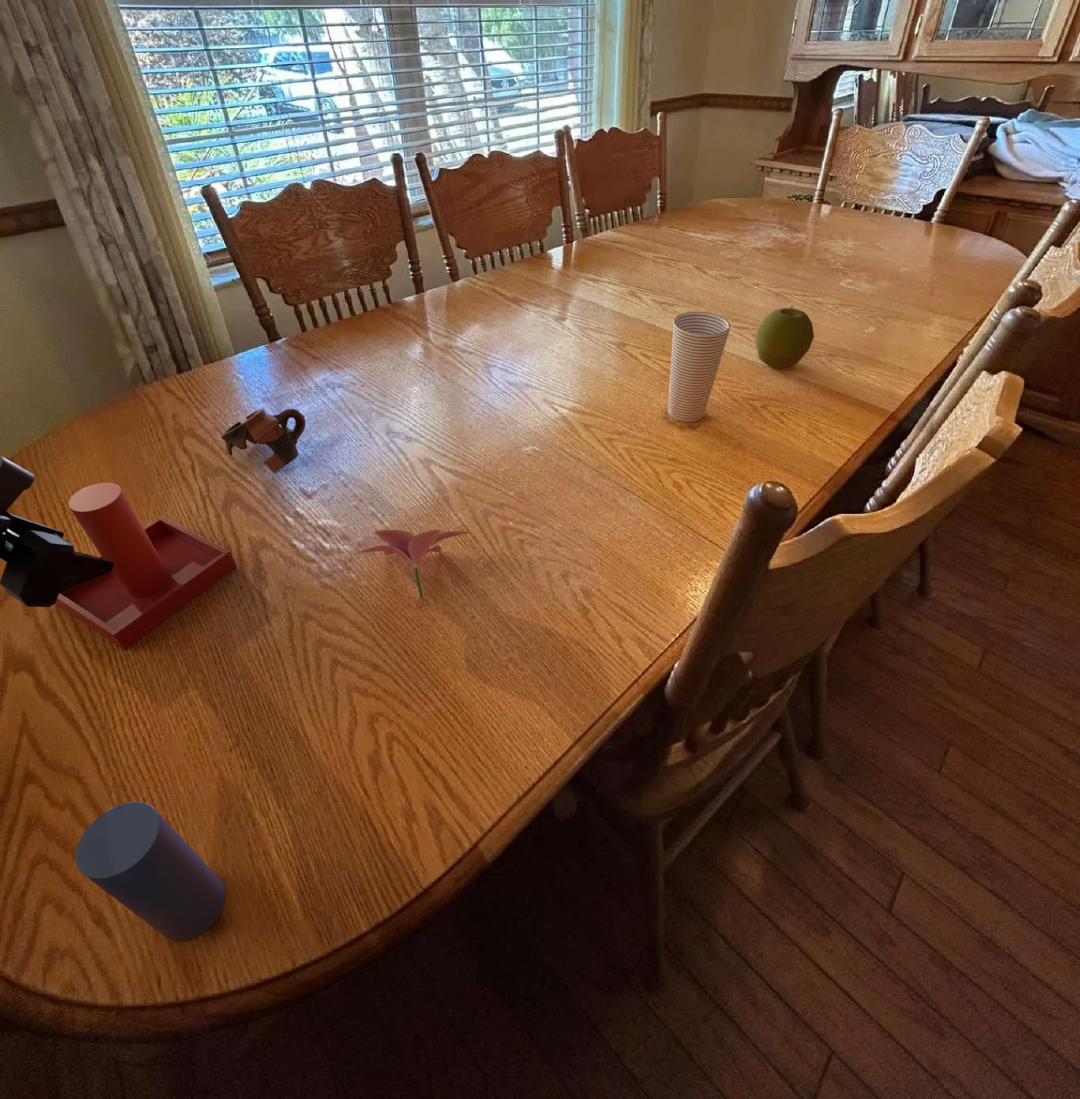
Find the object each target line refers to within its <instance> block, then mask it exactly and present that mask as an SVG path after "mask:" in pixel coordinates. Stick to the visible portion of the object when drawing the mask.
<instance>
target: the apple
mask: <svg viewBox="0 0 1080 1099" xmlns="http://www.w3.org/2000/svg"><path fill="white" fill-rule="evenodd" d="M814 337H815V333H814V327H813V323H812V321H811V318H810V317H809V316H808V314H807V313H806V312H804V310H803V311H802V310H800V309H797V308H793V305H791V307H782V308H776V309H773V311H771V312H769V313H768V314H767V315H766V316H765V317H764V318H763V319H762V321H761V322H760V324H759V325H758V327H757V330H756V336H755V341H754V342H755V346H756V350H757V356H758V359H759V360H760V361H761V362H763V363H764V364H765V365H767V366H768V367H771V368H776V369H778V368H779V369H780V368H786V367H792V366H794V365H797V364H798V363H799V362H800V361H801V360H802V359H803V357H804V356H806V354H807V353H808V352H809V350H810V348H811V346H812V344H813V340H814Z"/></svg>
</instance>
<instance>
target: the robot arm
mask: <svg viewBox="0 0 1080 1099" xmlns="http://www.w3.org/2000/svg"><path fill="white" fill-rule="evenodd" d="M34 482H35V475H34V474H33V473H32V472H30V471H29V470H27V469H24V468H23V467H21V466H20V465H18V464H16V463H15V462H13V461H10V460H9V459H7V458H5V457H4V456H2V455H0V560H3V561H4V562H6V565H5V567H4V568H3V572H2V575H1V578H0V586H1V587H2V588H3V590H5V592H6V593H7V594H9V595H10V596H11V597H13V598H14V599H16V600H17V601H18V602H20V603H21V604H23V605H25V606H26V607H29V608H51V607H52V606H54V605H56V604H55V603H56V600H57V597H58V595H59V594H60V593H62V592H64V591H66V590H68V589H70V588H72V587H74V586H76V585H79V584H81V583H84V582H86V581H89V580H91V579H94V578H96V577H99V576H101V575H104V574H106V573H109V572H111V571H112V569H113V566H114V562H112V561H110V560H106V559H103V558H99V557H97V556H96V555H91V554H89V553H88V554H87V553H83V552H80V551H76V550H75V547H74V545H73V544H72V543H71V542H70V541H68V540H67V539H65V538H64V535H65V533H64V531H61V530H59V529H56V528H54V527H51V526H48V525H45V524H42V523H39V522H36V521H34V520H31V519H28V518H25V517H22V516H19V515H17V514H14V513H11V512H9V511H8V509H10V507H11V506H12V505H13V504H14V503H15V502H16V500H17V499H19V497H20V496H21V495H22V493H23V492H24V491H26V490H28V489H30V488H31V487H32V485H33V484H34Z"/></svg>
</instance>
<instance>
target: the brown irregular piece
mask: <svg viewBox="0 0 1080 1099" xmlns="http://www.w3.org/2000/svg"><path fill="white" fill-rule="evenodd" d="M245 418H246V420H245V421H243V422H242V423H241V421H238V422H236V423H234V424H233V425H232V426H230V427H229V428H227V430H225V432H223V434H221V435H220V438H221V439H222V440H223V441H224V442H225V450H226V452H227V454H228V455H229V456H233V448H234V447H235V448H237V449H239V450H242V451H243V450H247V449H248V445H247V441H248V442H249V443H251V444H253V445H258V444H259V445H266V447H268V448H269V449H271V450H272V451H273V454H272V455H270V456H269V457H268V458H267V459H265V460H264V464H265V465H266V466H267V467H268V468H269V470H270V471H271V472H272V473H273V474H276V473H277V472H279V471H280V470H282V469H284V468H285V467H286V466H287V465H289V464H290V463H291V462H293V461H294V460H296V458H298V456H299V451H298V447H297V445H298V441H299V439H300V437H301V436H302V435H303V434H304V431H305V429H306V418H305V415H304V414H303V413H301V411H300V410H298V409H295V408H288V409H285V410H283V411H281V412H280V413H278V414H273V415H272V414H268V413H267V412H266V411H265V409H264V408H258V409H256V410H255V411H253V412H252V413H250V414H248V415H247V416H245ZM291 418H292V419H293V420H294V427H293V429H290V427H288V422H289V419H291Z"/></svg>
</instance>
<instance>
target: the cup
mask: <svg viewBox="0 0 1080 1099" xmlns="http://www.w3.org/2000/svg"><path fill="white" fill-rule="evenodd" d="M672 325H673V326H672V339H671V353H670V354H671V356H670V368H669V370H670V371H669V373H670V374H669V384H668V386H669V387H668V402H667V414H668V416H669V417H670V418H672V419H673V420H675V421H677V422H681V423H695V422H698V421H701V420H702V419H703V417H704V416H705V413H706V409H707V406H708V403H709V400H710V396H711V393H712V390H713V386H714V384H715V380H716V377H717V374H718V370H719V367H720V363H721V360H722V357H723V353H724V350H725V347H726V343H727V340H728V337H729V334H730V330H731V323H730V322H729V321H728V319H726V318H725V317H722V316H720V315H718V314H715V313H712V312H711V313H710V312H705V311H689V312H685V313H684V312H683V313H681V314H678V315H677V316H676V317H675V318H673V323H672Z"/></svg>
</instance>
